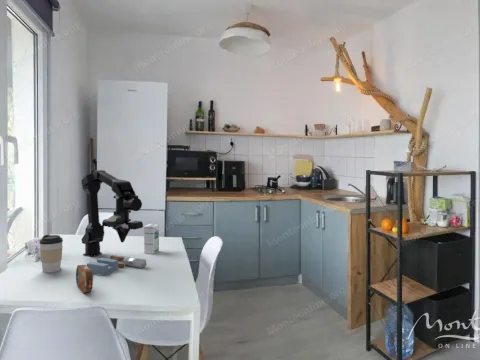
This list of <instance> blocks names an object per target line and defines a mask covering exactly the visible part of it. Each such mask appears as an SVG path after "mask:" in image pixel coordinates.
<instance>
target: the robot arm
mask: <svg viewBox="0 0 480 360" xmlns="http://www.w3.org/2000/svg"><path fill="white" fill-rule="evenodd" d="M102 183H104V184H105V185H107V186H109V187H110V188H111V191H112V192H113V193H114V194H115V195H113V199H115V210H114V211H113V215H112V216H110V217H109V218H105V219H103V220H102V221H101V222H102V223H100V214H99V198H98V197H99V196H98V194H99V191H100V190H101V184H102ZM81 186H82V190H83V191H84V192H85V194H86V203H87V205H86V206H87V218H88V219H87V220H88V222H87V225H86V226H85V229H84V230H85V232H84V234H83V236H82V237H81V243H82V244H83V245H84V247H85V248H84V251H85V252H84V253H82V256H87V257H96V256H99V255H102V252H101V245H100V243H102V242H103V241H104V236H105V227H108V228H112V229H113V230H114V231H116V233H117V235H118V238H119V241H120V242H121V243H124V242H125V240H126V238H127V236H128V234H129V233H130V231H131V230H138V229H142V228H144V223H143V221H140V220H134V221H132V219H131V218H130V213H132V211H134V212H139V211H140V210H141V208H142V206H143V202H142V200H141V199H140V198H139V195H136V192H135V190H134V188H133V185H132V183H131V182H130V181H129V180H125V179H118V178H117V177H115V176H113V175H112V174H110V173H108V172H106V170H103V169H99V170H94V171H92V172H91V173H90V174H86V175H85V176H84V177H83V178H82V179H81Z"/></svg>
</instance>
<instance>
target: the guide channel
mask: <svg viewBox="0 0 480 360" xmlns="http://www.w3.org/2000/svg"><path fill="white" fill-rule="evenodd" d="M125 257H126V256H121V255H114V254H112V255H110V257H109V259H113V260H118V269H124V268H125V265H124V263H123V259H124V258H125Z"/></svg>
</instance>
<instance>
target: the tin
mask: <svg viewBox="0 0 480 360" xmlns="http://www.w3.org/2000/svg"><path fill="white" fill-rule="evenodd" d="M75 282H76V286H77V288H78V289H79V290H80V291H81V292H82V293H83V294H85V293H91V292H92V290H93V288H94V287H93V285H94V274H93V273H92V271H91V270H90V269H89V268H88V267H87V264H78V265H77V267H76V271H75Z"/></svg>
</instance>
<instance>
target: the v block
mask: <svg viewBox="0 0 480 360" xmlns="http://www.w3.org/2000/svg"><path fill="white" fill-rule="evenodd" d="M118 262H119V261H118V260H113V259H110V258H106V257H100V258H97V259H96V261H89V262H87V263H86V266H87V267H88V268H89V269H90V270H91V271H92V273H93V275H98V276H106V275H108V274H110V273H112V272H115V271H117V270H119V268H118Z"/></svg>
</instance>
